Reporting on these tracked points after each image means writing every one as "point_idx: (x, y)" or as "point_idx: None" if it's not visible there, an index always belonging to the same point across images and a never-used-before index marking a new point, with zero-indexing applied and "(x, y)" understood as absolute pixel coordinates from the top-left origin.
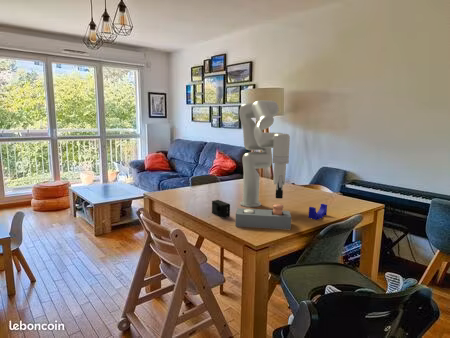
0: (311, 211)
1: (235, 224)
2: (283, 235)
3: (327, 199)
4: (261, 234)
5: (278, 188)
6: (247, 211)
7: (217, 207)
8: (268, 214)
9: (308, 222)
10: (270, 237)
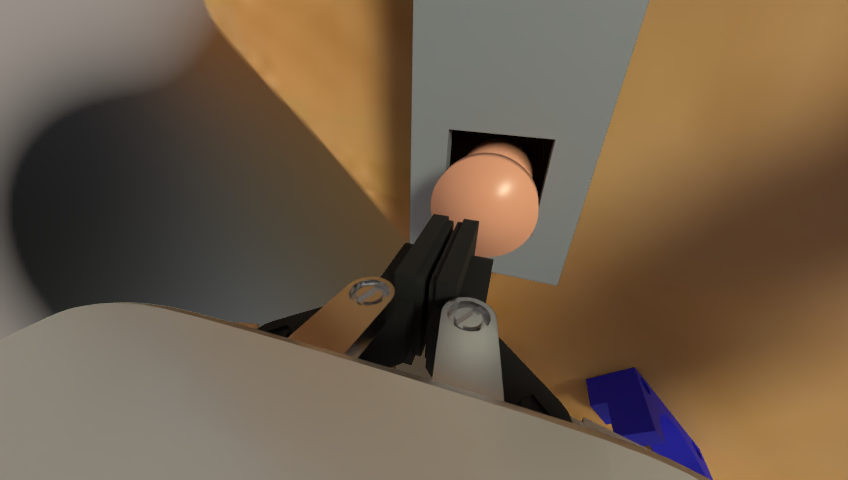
0: (626, 410)
1: None
2: (348, 165)
3: None
4: (331, 32)
5: (304, 318)
6: None
7: None
8: (452, 95)
9: (548, 336)
10: (305, 89)
